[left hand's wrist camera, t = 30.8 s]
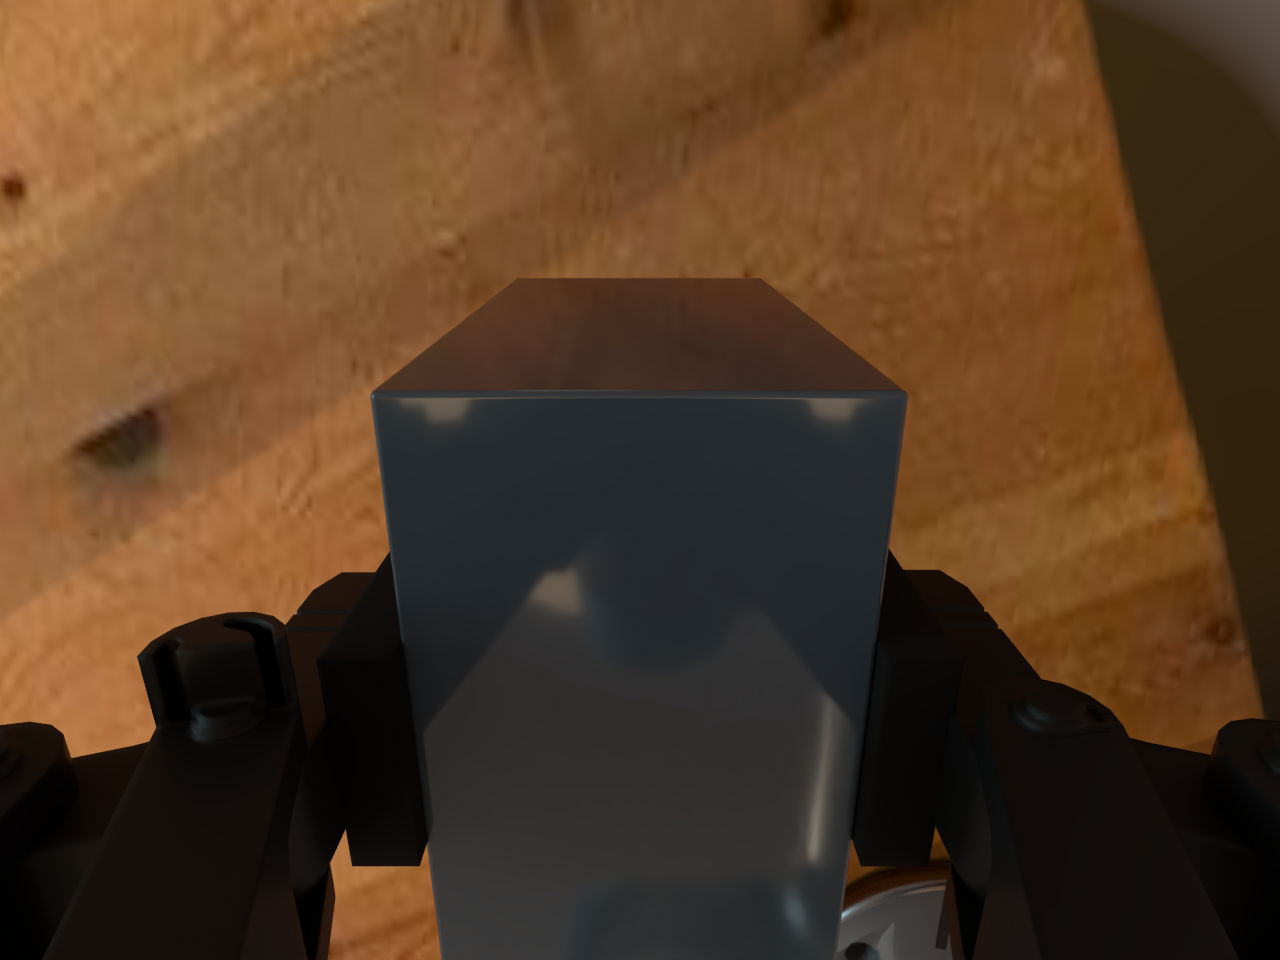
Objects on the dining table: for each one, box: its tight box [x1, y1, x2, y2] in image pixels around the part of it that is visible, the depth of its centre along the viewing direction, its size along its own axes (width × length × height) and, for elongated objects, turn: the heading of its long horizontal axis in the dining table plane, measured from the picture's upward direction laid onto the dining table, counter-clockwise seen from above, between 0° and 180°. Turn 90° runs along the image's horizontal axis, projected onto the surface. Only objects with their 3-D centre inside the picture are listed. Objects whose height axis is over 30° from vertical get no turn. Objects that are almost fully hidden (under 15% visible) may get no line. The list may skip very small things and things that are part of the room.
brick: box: [371, 278, 908, 960], centre depth 13 cm, size 5×8×9 cm, turn 0°
